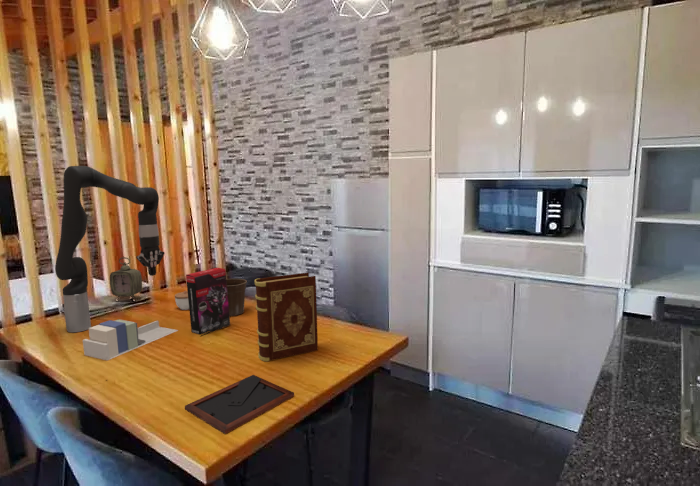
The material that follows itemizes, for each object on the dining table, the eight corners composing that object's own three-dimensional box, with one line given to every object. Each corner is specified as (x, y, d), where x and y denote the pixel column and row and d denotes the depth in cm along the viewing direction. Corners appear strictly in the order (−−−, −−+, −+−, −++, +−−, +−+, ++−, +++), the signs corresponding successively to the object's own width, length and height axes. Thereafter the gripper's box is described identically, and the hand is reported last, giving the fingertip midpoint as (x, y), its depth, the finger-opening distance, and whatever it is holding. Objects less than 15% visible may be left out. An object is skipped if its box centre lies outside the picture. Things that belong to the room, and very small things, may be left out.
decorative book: (262, 362, 155) (258, 283, 150) (256, 355, 162) (252, 278, 157) (318, 350, 165) (316, 275, 160) (310, 343, 172) (308, 272, 167)
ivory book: (91, 354, 162) (88, 328, 160) (101, 350, 166) (98, 324, 164) (108, 358, 158) (106, 331, 156) (118, 354, 162) (115, 328, 160)
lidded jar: (182, 304, 229) (181, 288, 228) (201, 305, 228) (199, 288, 226) (171, 311, 219) (170, 293, 217) (190, 311, 217) (189, 294, 216)
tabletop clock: (111, 302, 237) (107, 258, 233) (122, 297, 246) (118, 255, 242) (135, 302, 235) (130, 258, 231) (145, 298, 243) (141, 255, 240)
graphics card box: (199, 337, 181) (195, 275, 176) (189, 334, 184) (184, 274, 180) (230, 326, 195) (227, 268, 191) (220, 323, 198) (217, 266, 194)
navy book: (102, 350, 165) (99, 323, 164) (112, 346, 170) (109, 320, 168) (117, 354, 162) (114, 326, 160) (128, 349, 166) (125, 323, 164)
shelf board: (84, 357, 162) (82, 340, 161) (157, 328, 192) (156, 313, 191) (107, 363, 156) (105, 345, 155) (178, 332, 187) (177, 317, 186)
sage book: (111, 346, 170) (109, 322, 168) (120, 342, 173) (118, 319, 172) (129, 350, 166) (126, 325, 164) (137, 346, 169) (135, 322, 168)
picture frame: (253, 379, 143) (185, 411, 124) (253, 373, 143) (184, 404, 124) (294, 397, 131) (225, 436, 112) (294, 391, 130) (224, 429, 111)
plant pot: (234, 306, 226) (232, 276, 223) (255, 311, 216) (253, 280, 214) (208, 314, 213) (206, 283, 210) (229, 320, 203) (227, 287, 201)
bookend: (121, 342, 173) (119, 321, 172) (130, 338, 177) (128, 318, 175) (136, 345, 169) (134, 323, 168) (145, 341, 173) (143, 320, 172)
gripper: (155, 232, 185) (158, 271, 187) (128, 236, 173) (132, 278, 176) (168, 233, 182) (171, 272, 184) (141, 237, 170) (145, 279, 172)
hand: (152, 275), depth 180 cm, fingers closed
